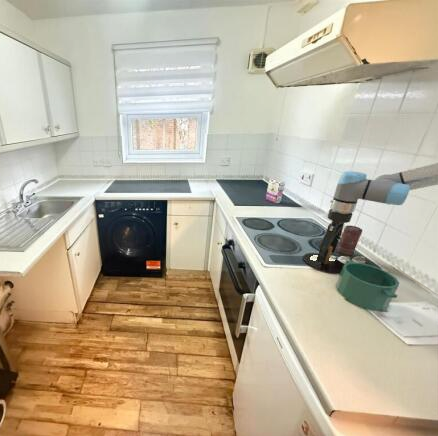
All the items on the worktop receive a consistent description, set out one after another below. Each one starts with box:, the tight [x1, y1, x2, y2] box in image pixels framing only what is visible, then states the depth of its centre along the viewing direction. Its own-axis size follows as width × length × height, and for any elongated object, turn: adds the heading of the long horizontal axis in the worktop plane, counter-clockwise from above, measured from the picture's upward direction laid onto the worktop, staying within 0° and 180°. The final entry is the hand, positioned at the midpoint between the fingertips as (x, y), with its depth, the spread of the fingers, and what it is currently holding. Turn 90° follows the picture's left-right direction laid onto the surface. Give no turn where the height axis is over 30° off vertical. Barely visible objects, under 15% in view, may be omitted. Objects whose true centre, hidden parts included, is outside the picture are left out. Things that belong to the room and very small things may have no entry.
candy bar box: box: [264, 178, 286, 205], centre depth 181 cm, size 11×5×16 cm, turn 15°
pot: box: [335, 259, 400, 311], centre depth 85 cm, size 15×20×10 cm
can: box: [335, 225, 364, 258], centre depth 110 cm, size 6×6×14 cm
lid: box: [302, 246, 345, 275], centre depth 103 cm, size 16×16×9 cm
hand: (325, 256), depth 103 cm, fingers open, 12 cm apart
